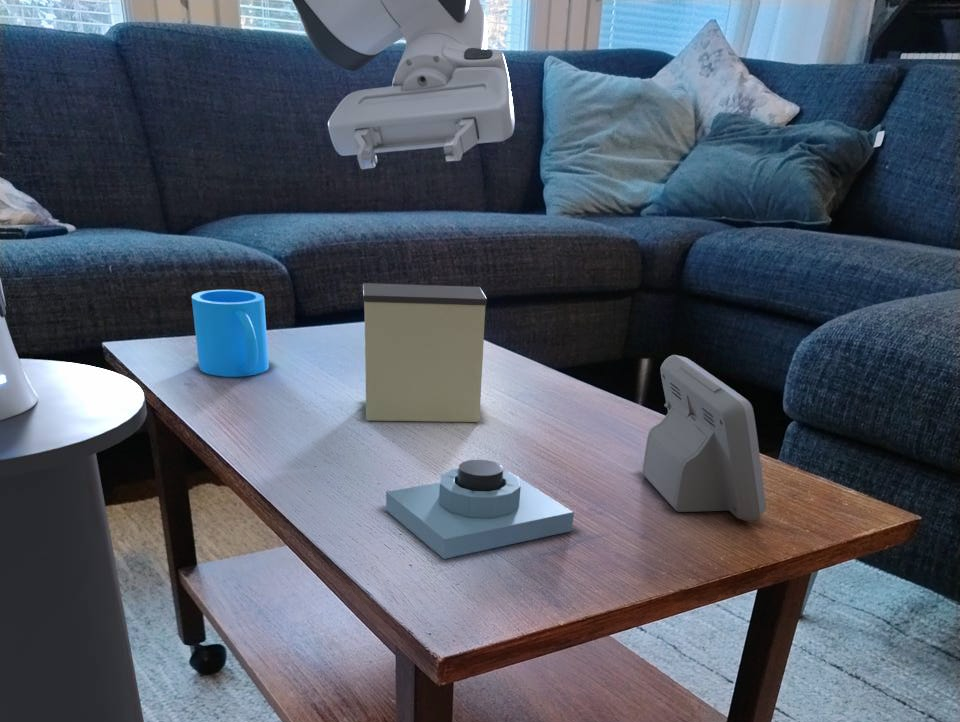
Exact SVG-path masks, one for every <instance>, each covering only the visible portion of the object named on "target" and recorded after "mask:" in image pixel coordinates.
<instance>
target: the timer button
mask: <svg viewBox="0 0 960 722" xmlns="http://www.w3.org/2000/svg"><path fill="white" fill-rule="evenodd" d="M457 468H458V486H459V487H461V488H464V489H468V490H472V491H493V490H499V489H501V488H502V480H503V471H504V468H503V466H502V465H501V464H500V463H497V462H495V461H492V460H487V459H469V460H465V461H463V462H461V463H459V465H458V467H457Z"/></svg>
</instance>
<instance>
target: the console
mask: <svg viewBox="0 0 960 722" xmlns="http://www.w3.org/2000/svg"><path fill="white" fill-rule="evenodd" d="M362 293H363V294H362V296H363V297H362V298H363V300H362V301H363V303H364V304H363V305H364V306H363V308H364V366H365V367H364V370H365V377H364V378H365V419H366V420H365V421H369V422H370V421H371V422H372V421H373V422H440V423H441V422H445V423H448V422H450V423H480V419H481V416H480V415H481V401H482V400H481V399H482V397H481V396H482V378H483V361H484V359H483V358H484V341H485V322H486V306H487V305H488V299H487V297H486V295H485V293H484V292H483V290H482V288H481V287H480V286H465V285H463V286H461V285H432V284H431V285H429V284H402V283H401V284H400V283H373V282H371V283H370V282H369V283H367V282H363V283H362Z"/></svg>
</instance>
